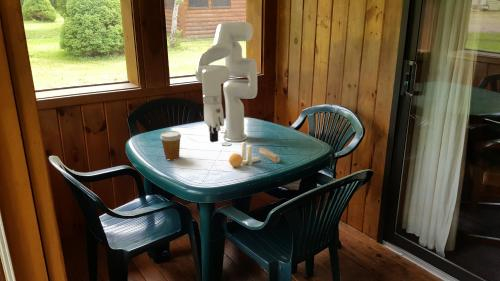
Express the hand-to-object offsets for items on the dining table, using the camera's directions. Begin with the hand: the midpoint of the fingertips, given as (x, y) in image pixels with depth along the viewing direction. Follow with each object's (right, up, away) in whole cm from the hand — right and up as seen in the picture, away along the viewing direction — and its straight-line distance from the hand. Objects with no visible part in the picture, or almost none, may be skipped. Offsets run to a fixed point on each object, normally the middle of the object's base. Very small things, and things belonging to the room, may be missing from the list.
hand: (214, 141), depth 172 cm
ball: (+9, -8, +8) cm, 14 cm away
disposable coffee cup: (-21, -8, +19) cm, 30 cm away
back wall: (+24, -8, +18) cm, 31 cm away
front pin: (+12, -10, +10) cm, 18 cm away
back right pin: (+15, -11, +10) cm, 21 cm away
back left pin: (+13, -9, +14) cm, 21 cm away
